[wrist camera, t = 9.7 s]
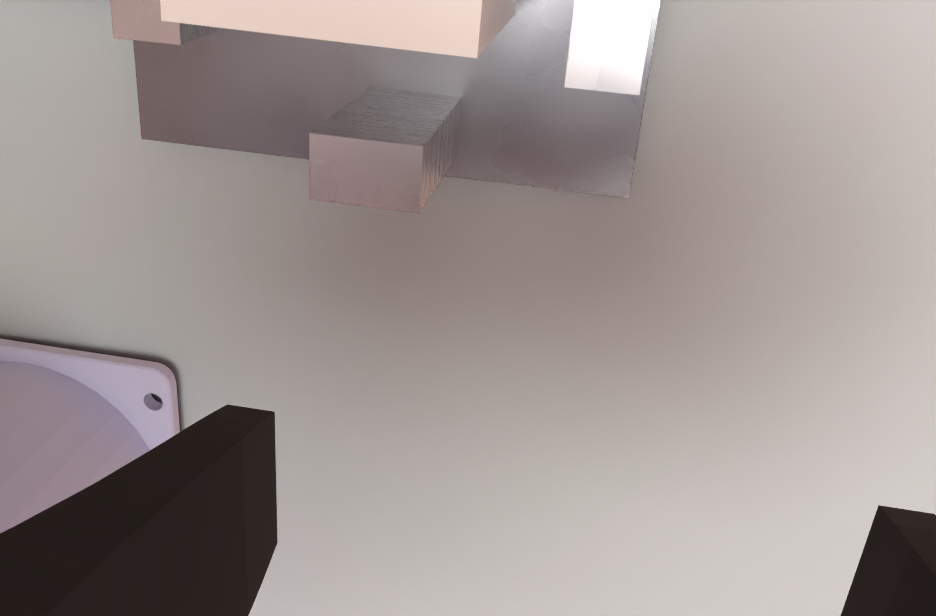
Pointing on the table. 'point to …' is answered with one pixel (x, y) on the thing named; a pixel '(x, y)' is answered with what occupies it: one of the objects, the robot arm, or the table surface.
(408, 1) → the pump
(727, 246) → the table surface
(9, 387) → the robot arm
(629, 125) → the grey peg tray
